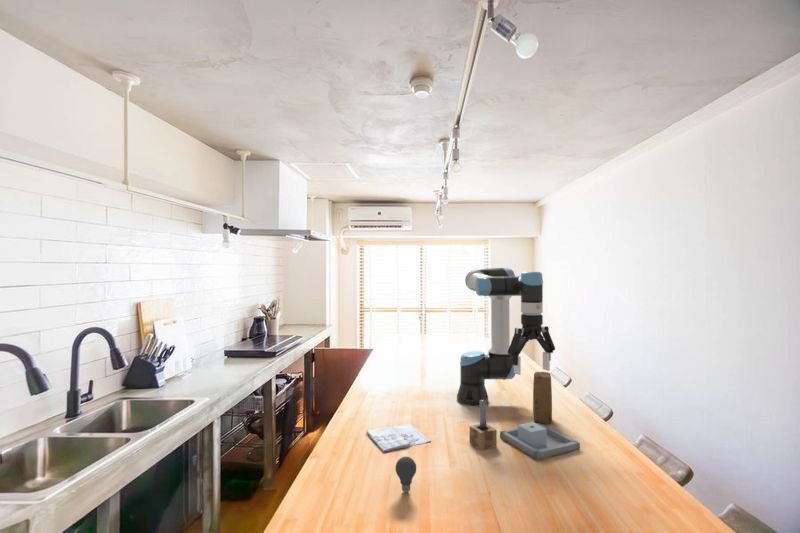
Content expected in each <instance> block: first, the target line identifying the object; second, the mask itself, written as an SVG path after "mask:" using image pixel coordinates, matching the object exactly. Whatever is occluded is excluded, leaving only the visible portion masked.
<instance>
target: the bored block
mask: <svg viewBox="0 0 800 533" xmlns="http://www.w3.org/2000/svg"><path fill="white" fill-rule="evenodd" d="M486 426H487V430H480V423H478V424H472V425H469V443H470V444H472V445H473V446H475V447H476V448H477V449H479V450H480V451H482V450H486V449H490V448H491V449H492V448H496V447H497V445H498V444H497V443H498V441H497V440H498V439H497V436H498V435H497V434H498V430H497V429H496V428H495V427H493V426H491V425H489V424H487V423H486Z"/></svg>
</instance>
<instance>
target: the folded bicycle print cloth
mask: <svg viewBox="0 0 800 533" xmlns="http://www.w3.org/2000/svg"><path fill="white" fill-rule="evenodd" d="M366 434H367V435H368V436H369V437H370V439H371V440H372V441H373V442H374V443H375V444H376V445H377V447H378V448H380V450H381V451H382V452H383V453H385V452H390V451H395V450H399V449H405V448H409V447H410V448H413V447H414V446H415V447H416V446H419V445H424V444H429V443H431V442H432V441H431V439H429V438H428V437H426V436H425V435H424V434H423V433H421V432H420V431H419V430H418V429H417V428H416V427H415V425H413V424H412V423H411V422H410V423H406V424H402V425H398V426H397V425H395V426H391V425H390V426H389V425H388V426H385V427H379V428H376V429H375V428H374V429H370V430H369V429H367V430H366ZM402 437H403V438H402Z"/></svg>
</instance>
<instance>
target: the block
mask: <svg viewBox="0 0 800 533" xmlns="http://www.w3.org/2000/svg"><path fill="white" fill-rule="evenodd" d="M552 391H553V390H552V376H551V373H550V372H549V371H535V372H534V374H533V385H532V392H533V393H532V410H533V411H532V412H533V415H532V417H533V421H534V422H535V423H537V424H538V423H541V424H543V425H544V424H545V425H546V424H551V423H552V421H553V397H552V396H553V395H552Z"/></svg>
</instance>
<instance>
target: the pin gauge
mask: <svg viewBox="0 0 800 533" xmlns="http://www.w3.org/2000/svg"><path fill="white" fill-rule="evenodd" d="M479 424H480V430H487V426H486V424H487V404H486V400H484V399H481V400H480V405H479Z"/></svg>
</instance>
